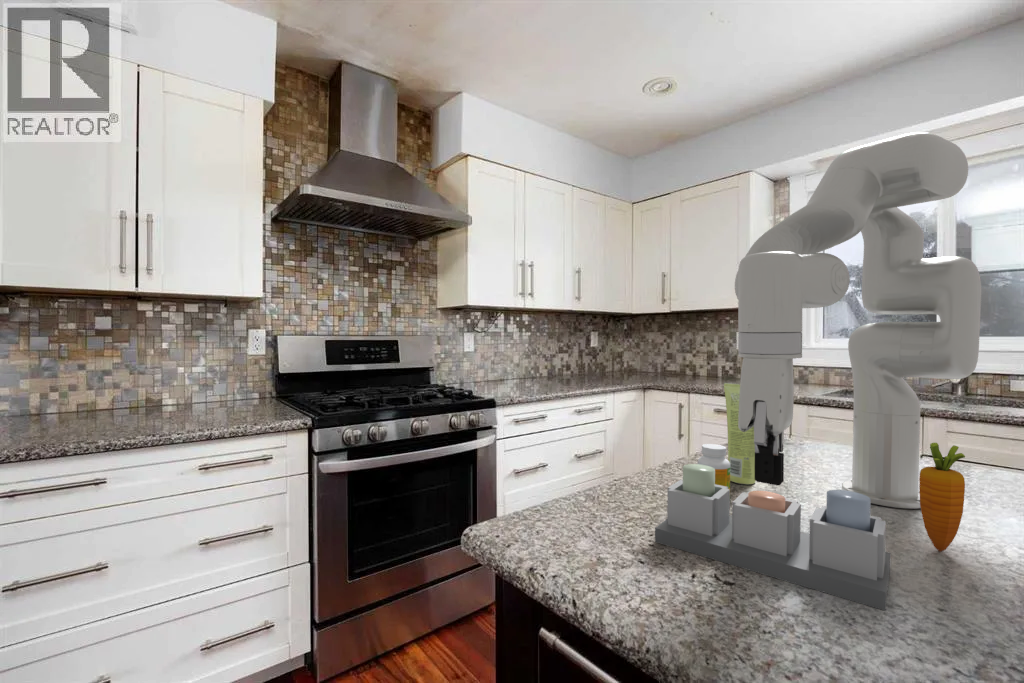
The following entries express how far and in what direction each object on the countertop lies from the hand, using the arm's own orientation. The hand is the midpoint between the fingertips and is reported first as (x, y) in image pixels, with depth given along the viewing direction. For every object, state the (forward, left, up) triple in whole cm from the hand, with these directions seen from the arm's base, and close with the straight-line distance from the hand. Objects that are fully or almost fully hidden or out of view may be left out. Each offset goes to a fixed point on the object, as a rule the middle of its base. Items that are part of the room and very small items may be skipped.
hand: (768, 481), depth 65 cm
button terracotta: (+1, 0, -7) cm, 7 cm away
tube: (-31, -11, -10) cm, 34 cm away
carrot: (-16, +18, -10) cm, 26 cm away
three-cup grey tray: (+1, 0, -10) cm, 10 cm away
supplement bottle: (-16, -12, -10) cm, 22 cm away
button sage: (+1, -9, -5) cm, 10 cm away
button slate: (+1, +9, -5) cm, 10 cm away
